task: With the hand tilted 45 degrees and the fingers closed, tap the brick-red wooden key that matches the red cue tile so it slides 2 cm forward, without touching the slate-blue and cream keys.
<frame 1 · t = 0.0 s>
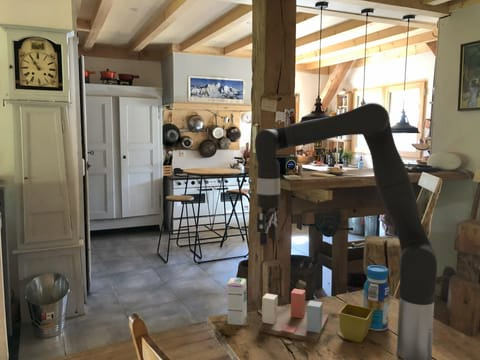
hand: (268, 241, 135), 29 cm above the table, tool pointing down, fingers open, 8 cm apart
red key: (298, 303, 143), point 6 cm above the table, slide at 0.0 cm
slate key: (314, 316, 132), point 6 cm above the table, slide at 0.0 cm
key board: (294, 324, 140), on the table
beverage bottle: (375, 326, 139), on the table
flower pot: (355, 338, 131), on the table
cream key: (269, 308, 138), point 6 cm above the table, slide at 0.0 cm
syrup box: (237, 321, 143), on the table
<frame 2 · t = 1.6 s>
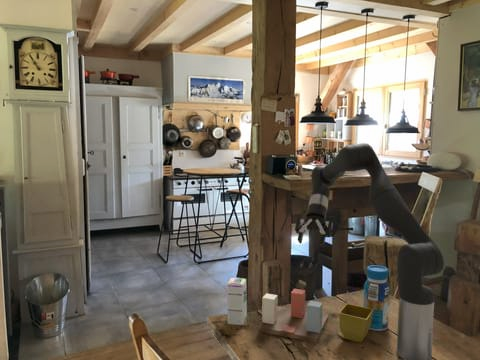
hand: (310, 243, 157), 23 cm above the table, tool tilted 45°, fingers open, 7 cm apart
nothing on the table moved.
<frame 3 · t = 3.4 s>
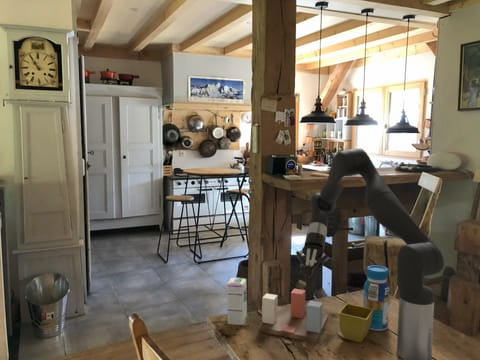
hand: (307, 276, 154), 11 cm above the table, tool tilted 45°, fingers closed
nothing on the table moved.
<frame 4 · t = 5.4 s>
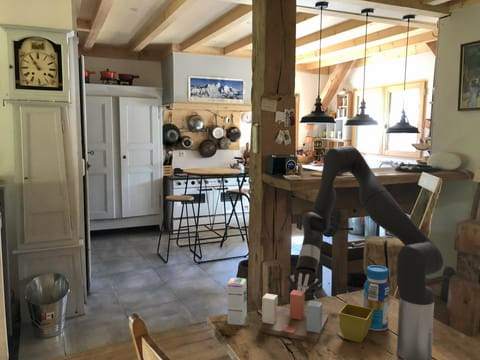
hand: (299, 304, 144), 5 cm above the table, tool tilted 45°, fingers closed
red key: (297, 304, 142), point 6 cm above the table, slide at 1.3 cm, touching gripper
everything else where it was.
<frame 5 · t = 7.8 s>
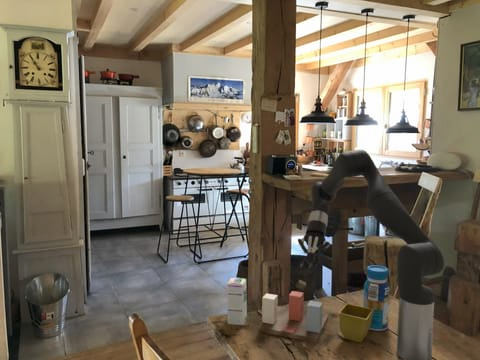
hand: (309, 263, 157), 15 cm above the table, tool tilted 45°, fingers closed
red key: (296, 305, 140), point 6 cm above the table, slide at 2.4 cm
everything else where it was.
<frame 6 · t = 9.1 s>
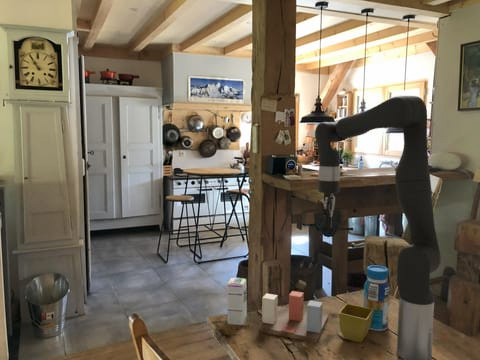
hand: (328, 226, 149), 31 cm above the table, tool pointing down, fingers closed
nothing on the table moved.
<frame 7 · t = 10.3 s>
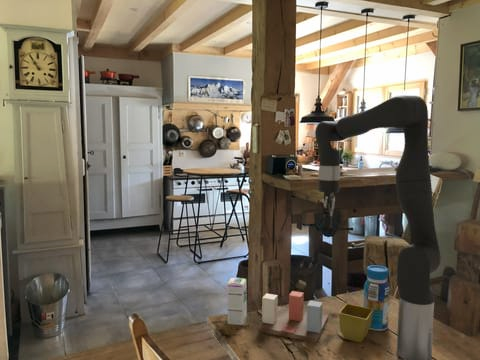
hand: (327, 226, 149), 31 cm above the table, tool pointing down, fingers closed
nothing on the table moved.
at the end: red key slide at 2.4 cm; slate key slide at 0.0 cm; cream key slide at 0.0 cm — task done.
